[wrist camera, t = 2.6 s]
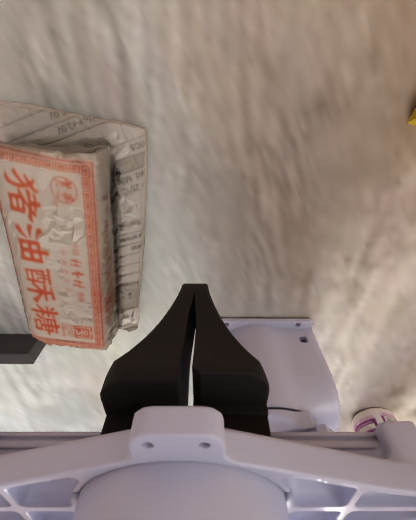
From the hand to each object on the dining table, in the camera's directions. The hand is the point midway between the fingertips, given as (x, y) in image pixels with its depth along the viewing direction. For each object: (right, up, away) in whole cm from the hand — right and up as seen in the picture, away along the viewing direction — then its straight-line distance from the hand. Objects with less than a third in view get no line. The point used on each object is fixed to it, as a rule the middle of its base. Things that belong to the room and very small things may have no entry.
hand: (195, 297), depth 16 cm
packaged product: (-9, +4, +7) cm, 13 cm away
